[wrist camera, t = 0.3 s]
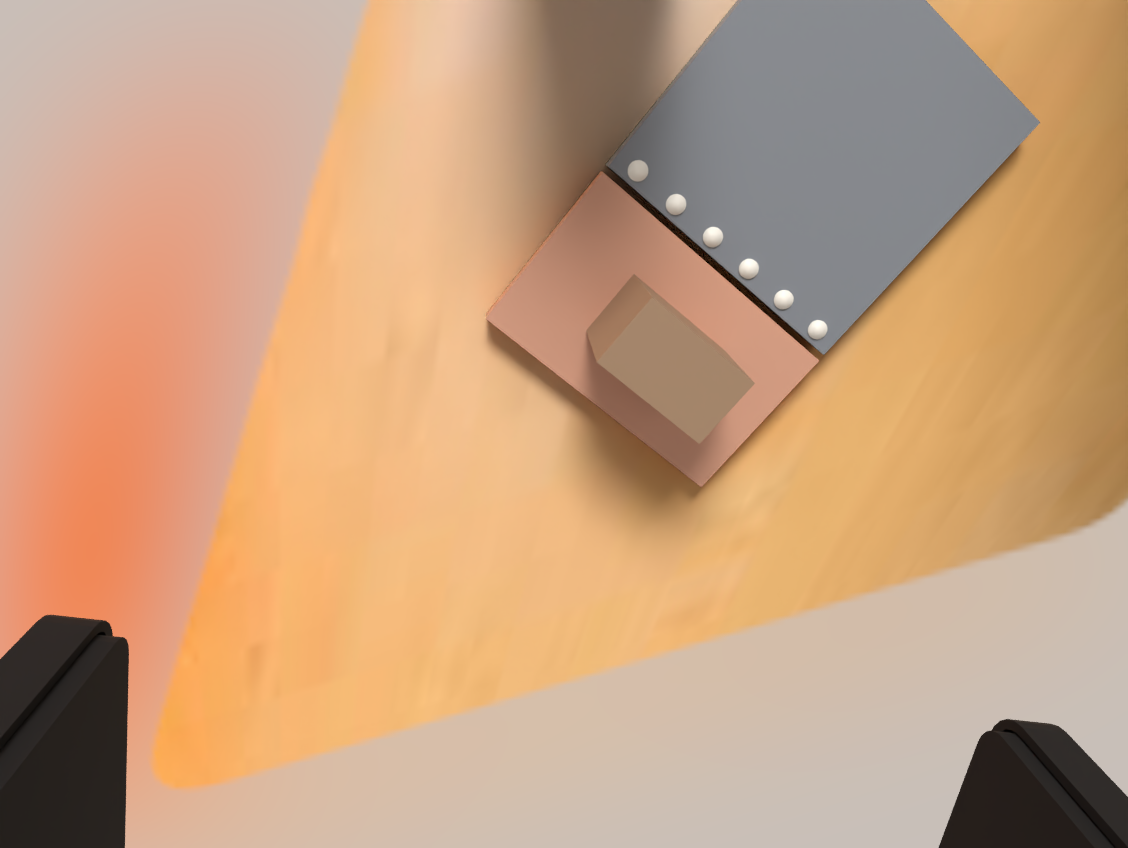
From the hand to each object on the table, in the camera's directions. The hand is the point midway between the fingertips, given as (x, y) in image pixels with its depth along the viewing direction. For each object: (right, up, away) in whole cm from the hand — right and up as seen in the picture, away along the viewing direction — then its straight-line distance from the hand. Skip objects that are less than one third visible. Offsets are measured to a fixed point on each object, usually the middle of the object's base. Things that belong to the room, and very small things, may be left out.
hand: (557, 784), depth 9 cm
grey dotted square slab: (+10, +15, +25) cm, 31 cm away
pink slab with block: (+4, +8, +27) cm, 29 cm away
